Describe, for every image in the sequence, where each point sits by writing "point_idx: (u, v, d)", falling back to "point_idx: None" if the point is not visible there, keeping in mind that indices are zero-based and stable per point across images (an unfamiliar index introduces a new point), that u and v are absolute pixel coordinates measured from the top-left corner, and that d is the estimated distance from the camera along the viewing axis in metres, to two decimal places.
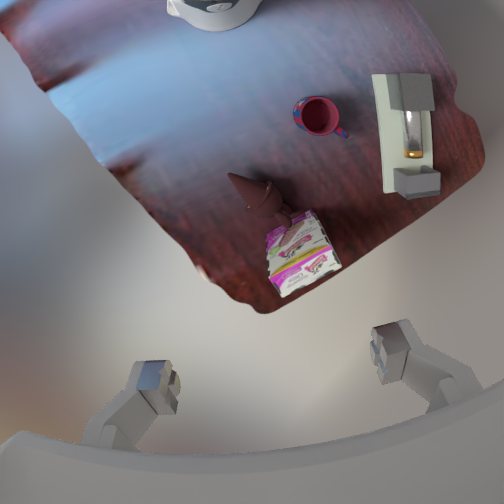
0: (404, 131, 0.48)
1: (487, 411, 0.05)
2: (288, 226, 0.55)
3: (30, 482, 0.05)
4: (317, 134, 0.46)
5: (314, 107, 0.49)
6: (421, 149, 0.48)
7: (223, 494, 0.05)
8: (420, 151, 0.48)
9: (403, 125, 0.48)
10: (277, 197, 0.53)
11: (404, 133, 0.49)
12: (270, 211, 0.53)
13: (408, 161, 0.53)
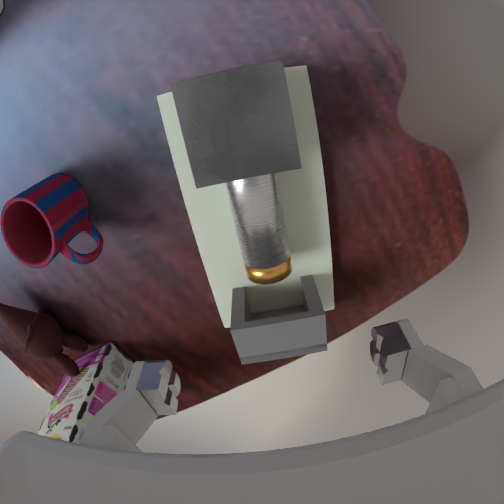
0: (234, 222, 0.24)
1: (487, 411, 0.05)
2: (71, 375, 0.31)
3: (30, 482, 0.05)
4: (34, 266, 0.22)
5: None
6: (278, 263, 0.24)
7: (223, 494, 0.05)
8: (274, 267, 0.24)
9: None
10: (42, 341, 0.29)
11: (235, 226, 0.24)
12: (40, 357, 0.29)
13: None
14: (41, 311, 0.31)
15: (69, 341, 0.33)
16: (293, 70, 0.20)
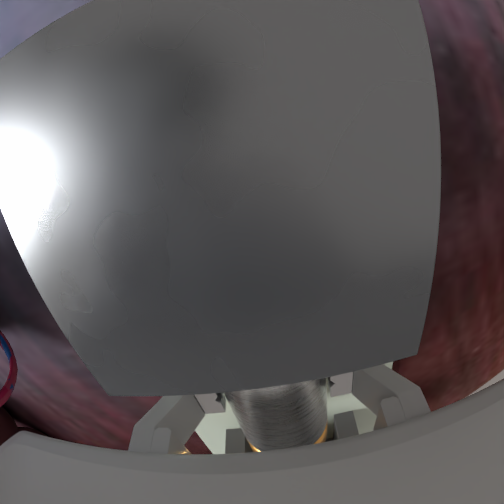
0: None
1: (487, 411, 0.05)
2: None
3: (30, 482, 0.05)
4: None
5: None
6: None
7: (223, 494, 0.05)
8: None
9: None
10: None
11: None
12: None
13: None
14: None
15: None
16: None
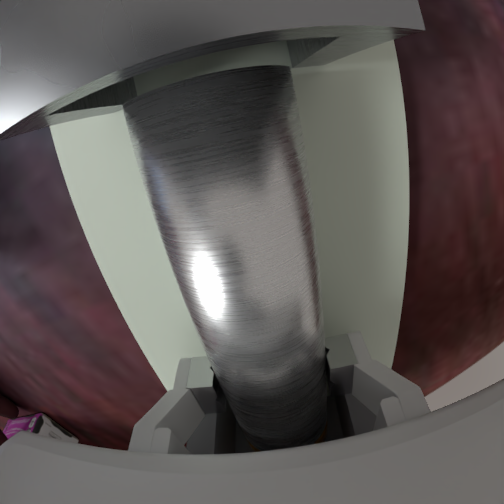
0: None
1: (487, 411, 0.05)
2: None
3: (30, 481, 0.05)
4: None
5: None
6: None
7: (223, 494, 0.05)
8: None
9: None
10: None
11: None
12: None
13: None
14: None
15: None
16: None
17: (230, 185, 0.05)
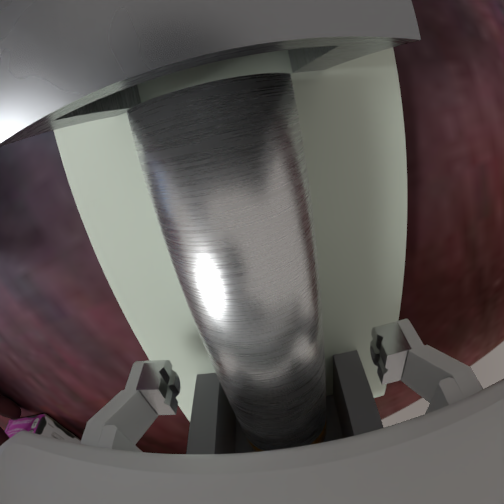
0: None
1: (487, 411, 0.05)
2: None
3: (30, 482, 0.05)
4: None
5: None
6: (305, 444, 0.11)
7: (223, 494, 0.05)
8: None
9: None
10: None
11: None
12: None
13: None
14: None
15: None
16: None
17: (231, 189, 0.06)
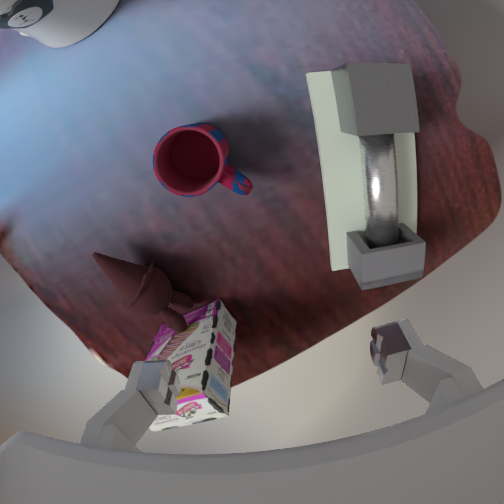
0: (367, 221, 0.32)
1: (487, 411, 0.05)
2: (179, 330, 0.37)
3: (30, 482, 0.05)
4: (186, 194, 0.28)
5: (202, 141, 0.31)
6: None
7: (224, 494, 0.05)
8: None
9: (365, 211, 0.32)
10: (157, 292, 0.34)
11: (367, 224, 0.33)
12: (149, 311, 0.35)
13: None
14: (153, 263, 0.37)
15: (177, 296, 0.39)
16: None
17: (387, 154, 0.27)
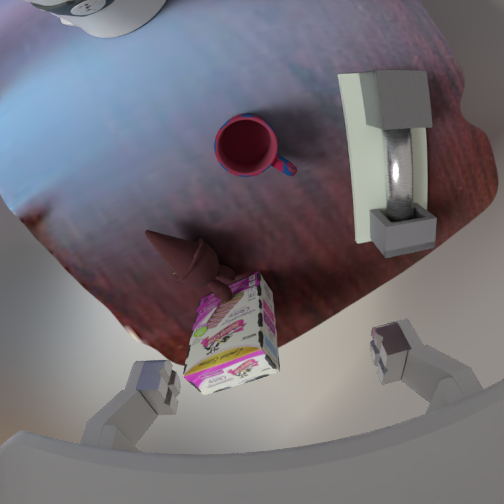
0: (388, 200, 0.37)
1: (487, 411, 0.05)
2: (225, 299, 0.42)
3: (30, 482, 0.05)
4: (243, 174, 0.32)
5: (249, 129, 0.36)
6: None
7: (223, 494, 0.05)
8: None
9: (386, 192, 0.37)
10: (209, 264, 0.39)
11: (387, 203, 0.38)
12: (200, 282, 0.40)
13: None
14: None
15: (222, 269, 0.44)
16: None
17: (406, 144, 0.32)
